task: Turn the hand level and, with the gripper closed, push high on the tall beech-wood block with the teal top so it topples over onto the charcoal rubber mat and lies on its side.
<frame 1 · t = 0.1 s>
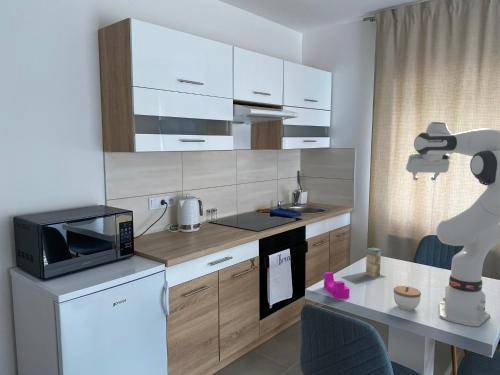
hand: (424, 179, 191), 52 cm above the table, tool tilted 20°, fingers open, 8 cm apart
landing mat: (363, 277, 198), on the table
tall block: (372, 274, 202), resting on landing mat
lidded jar: (406, 308, 161), on the table
toy block: (336, 293, 178), on the table
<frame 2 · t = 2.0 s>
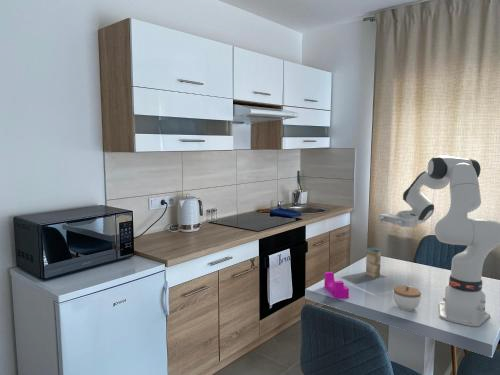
hand: (387, 221, 203), 29 cm above the table, tool horizontal, fingers open, 8 cm apart
nothing on the table moved.
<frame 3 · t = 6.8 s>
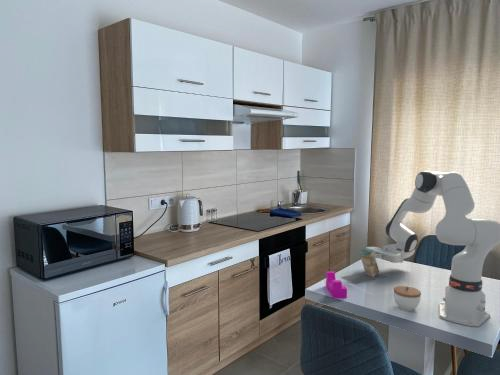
hand: (372, 256, 200), 11 cm above the table, tool horizontal, fingers closed
tall block: (372, 273, 202), point 2 cm above the table, tilted 24°, touching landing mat
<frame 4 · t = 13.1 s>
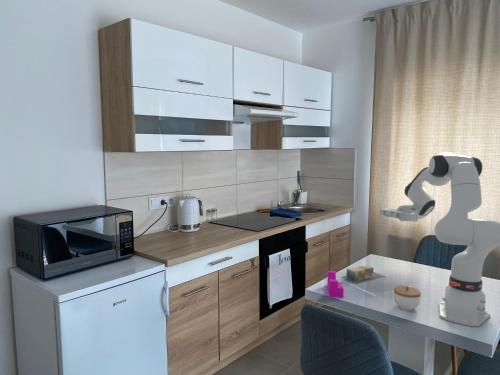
hand: (387, 215, 203), 32 cm above the table, tool horizontal, fingers closed
tall block: (369, 271, 200), point 3 cm above the table, tilted 90°, touching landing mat
at the end: tall block tilted 90°; tall block inside the target area (0.4 cm from its centre), point 3.0 cm above the table; tall block touching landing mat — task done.
